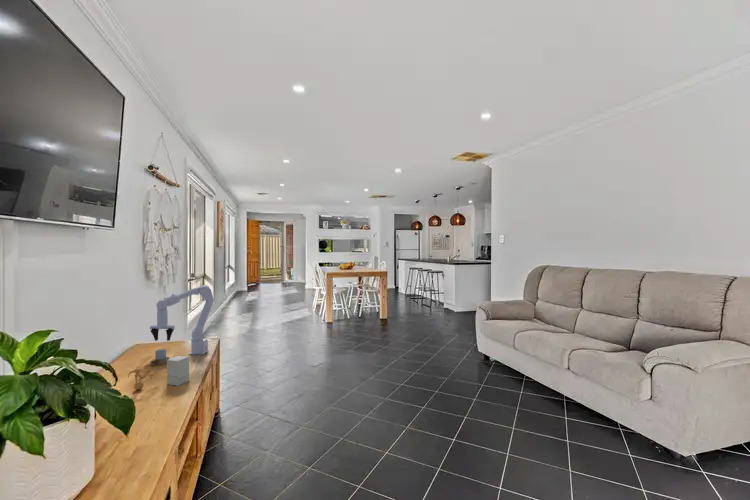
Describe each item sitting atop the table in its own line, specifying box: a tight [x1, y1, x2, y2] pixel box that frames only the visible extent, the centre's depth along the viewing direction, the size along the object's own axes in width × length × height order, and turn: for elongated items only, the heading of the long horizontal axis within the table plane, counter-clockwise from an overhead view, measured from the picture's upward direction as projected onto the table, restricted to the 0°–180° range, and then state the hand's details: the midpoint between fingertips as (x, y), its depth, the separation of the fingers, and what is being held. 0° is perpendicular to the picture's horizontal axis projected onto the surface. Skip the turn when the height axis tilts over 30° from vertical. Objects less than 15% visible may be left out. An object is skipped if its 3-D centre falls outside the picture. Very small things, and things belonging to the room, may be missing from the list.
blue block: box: [154, 348, 167, 360], centre depth 214 cm, size 4×4×5 cm
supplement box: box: [166, 355, 190, 387], centre depth 184 cm, size 7×7×13 cm
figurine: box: [127, 366, 149, 391], centre depth 173 cm, size 8×6×12 cm
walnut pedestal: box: [150, 356, 170, 366], centre depth 213 cm, size 7×7×3 cm
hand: (162, 340), depth 225 cm, fingers open, 7 cm apart
